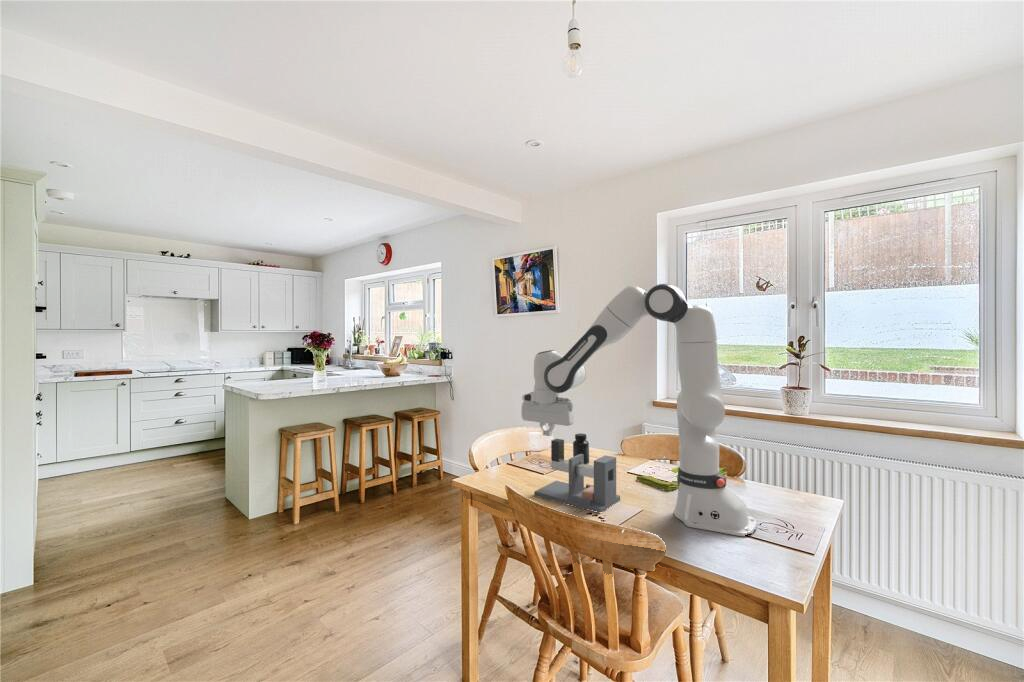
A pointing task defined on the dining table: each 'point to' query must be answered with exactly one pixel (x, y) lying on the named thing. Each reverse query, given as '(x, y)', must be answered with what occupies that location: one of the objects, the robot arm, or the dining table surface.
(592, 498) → the block
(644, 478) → the dish towel
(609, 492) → the bracket
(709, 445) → the robot arm
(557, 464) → the shaft
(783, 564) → the dining table surface
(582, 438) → the supplement bottle
